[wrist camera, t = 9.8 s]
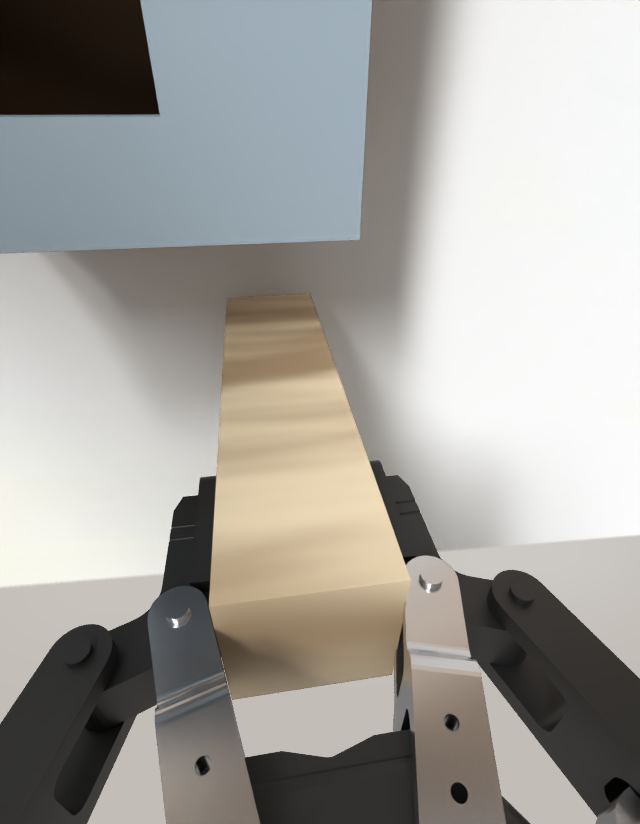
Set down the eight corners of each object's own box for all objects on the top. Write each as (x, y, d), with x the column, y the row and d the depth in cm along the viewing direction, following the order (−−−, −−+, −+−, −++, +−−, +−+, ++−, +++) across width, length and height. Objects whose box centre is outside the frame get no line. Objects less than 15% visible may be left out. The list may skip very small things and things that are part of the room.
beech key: (227, 297, 21) (209, 606, 9) (309, 293, 22) (410, 580, 9) (235, 370, 24) (232, 699, 11) (310, 365, 24) (391, 674, 11)
